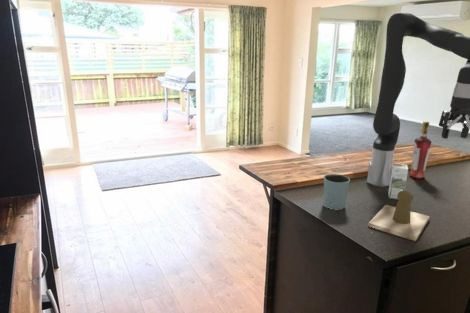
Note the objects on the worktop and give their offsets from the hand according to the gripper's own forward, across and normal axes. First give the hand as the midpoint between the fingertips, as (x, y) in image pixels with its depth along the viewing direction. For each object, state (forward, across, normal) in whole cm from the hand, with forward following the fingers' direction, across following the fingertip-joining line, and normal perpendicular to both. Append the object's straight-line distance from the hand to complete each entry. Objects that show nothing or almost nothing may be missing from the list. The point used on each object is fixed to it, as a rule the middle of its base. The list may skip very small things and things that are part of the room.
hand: (453, 138), depth 139 cm
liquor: (+30, -15, -32) cm, 46 cm away
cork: (+28, +24, +10) cm, 39 cm away
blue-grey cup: (+31, +41, -9) cm, 52 cm away
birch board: (+30, +25, +10) cm, 40 cm away
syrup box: (+30, +11, -12) cm, 34 cm away
